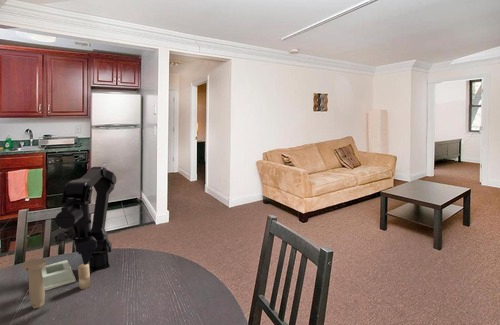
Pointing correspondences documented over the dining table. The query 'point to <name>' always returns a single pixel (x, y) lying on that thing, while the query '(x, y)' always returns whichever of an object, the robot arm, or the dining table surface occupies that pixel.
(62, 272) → the socket plate
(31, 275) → the handle
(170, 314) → the dining table surface
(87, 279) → the dowel
